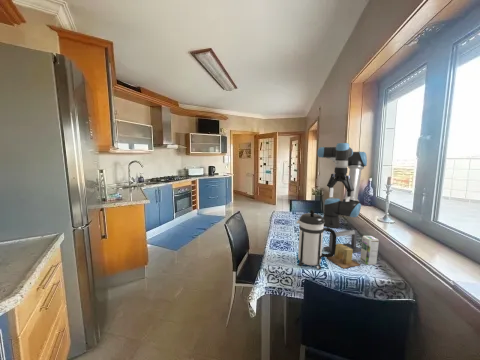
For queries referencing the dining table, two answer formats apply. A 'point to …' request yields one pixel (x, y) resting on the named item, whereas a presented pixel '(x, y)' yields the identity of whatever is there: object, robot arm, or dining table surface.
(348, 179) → the robot arm
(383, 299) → the dining table surface
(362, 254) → the syrup box
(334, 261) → the coaster
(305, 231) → the coffee press
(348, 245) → the stand
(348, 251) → the c link
